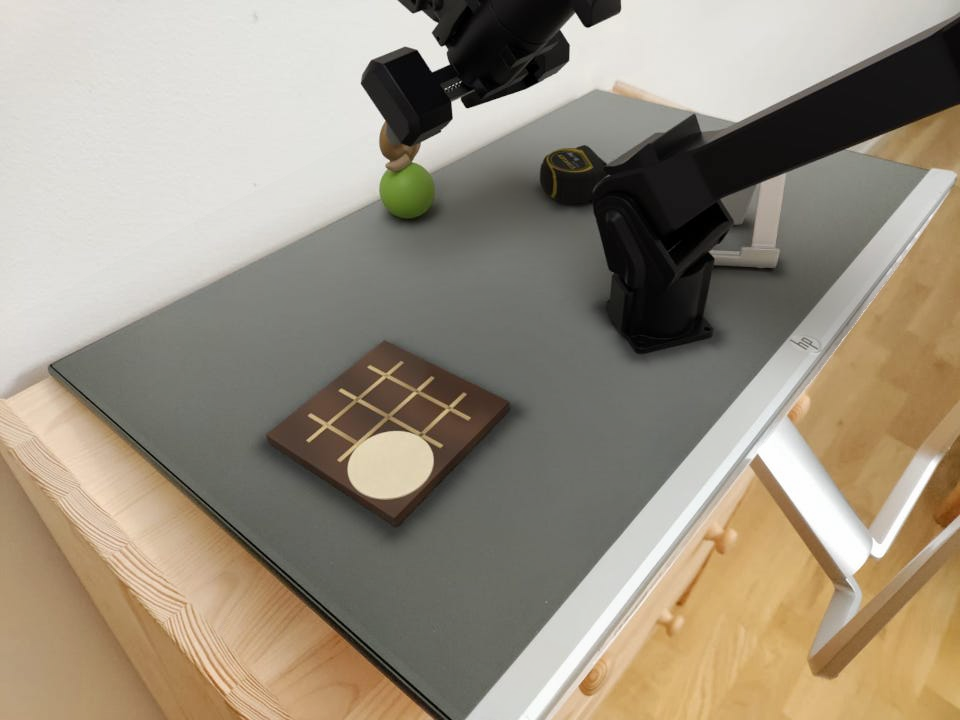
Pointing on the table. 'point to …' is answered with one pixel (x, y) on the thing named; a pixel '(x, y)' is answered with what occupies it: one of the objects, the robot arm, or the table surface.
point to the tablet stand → (755, 225)
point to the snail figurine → (404, 180)
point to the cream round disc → (390, 465)
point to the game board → (388, 421)
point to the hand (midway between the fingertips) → (428, 120)
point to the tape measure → (571, 174)
